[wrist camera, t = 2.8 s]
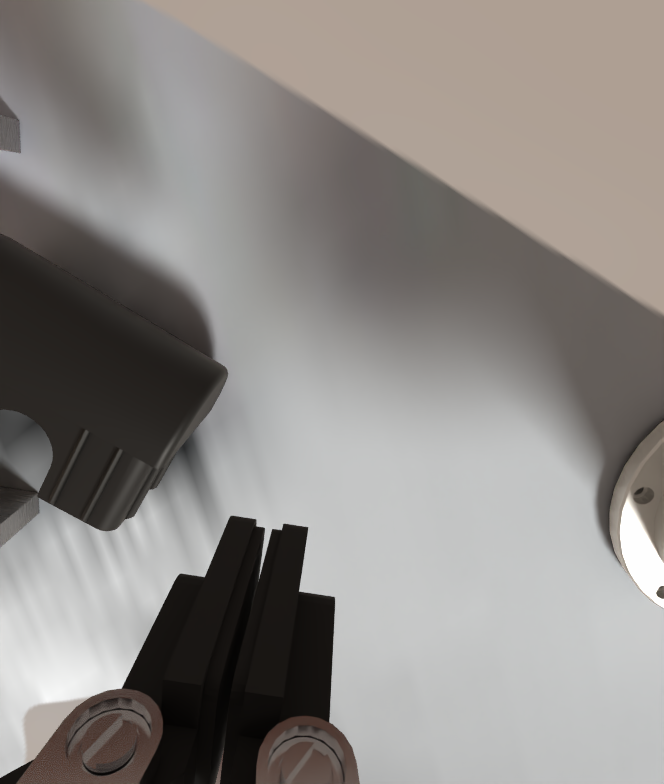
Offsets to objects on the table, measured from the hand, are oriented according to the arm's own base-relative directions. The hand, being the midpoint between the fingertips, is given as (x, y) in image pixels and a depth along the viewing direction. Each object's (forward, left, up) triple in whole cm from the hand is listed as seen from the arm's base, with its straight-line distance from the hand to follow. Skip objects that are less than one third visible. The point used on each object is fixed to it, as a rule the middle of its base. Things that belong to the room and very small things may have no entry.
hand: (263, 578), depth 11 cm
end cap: (+9, 0, -13) cm, 16 cm away
